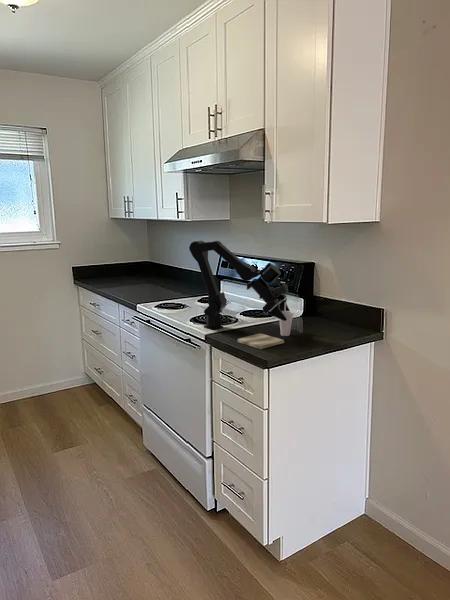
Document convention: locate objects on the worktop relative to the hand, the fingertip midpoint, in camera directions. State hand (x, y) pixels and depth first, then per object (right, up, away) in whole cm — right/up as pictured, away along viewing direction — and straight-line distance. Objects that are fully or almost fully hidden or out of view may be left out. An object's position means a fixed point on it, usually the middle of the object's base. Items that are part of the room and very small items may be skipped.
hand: (288, 317), depth 190 cm
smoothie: (-1, -7, +2) cm, 8 cm away
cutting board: (-12, -9, -9) cm, 18 cm away
